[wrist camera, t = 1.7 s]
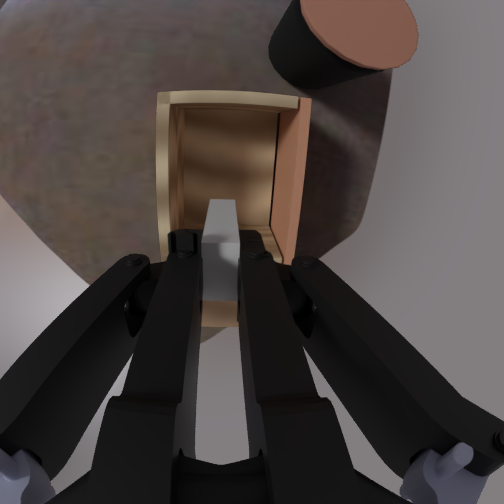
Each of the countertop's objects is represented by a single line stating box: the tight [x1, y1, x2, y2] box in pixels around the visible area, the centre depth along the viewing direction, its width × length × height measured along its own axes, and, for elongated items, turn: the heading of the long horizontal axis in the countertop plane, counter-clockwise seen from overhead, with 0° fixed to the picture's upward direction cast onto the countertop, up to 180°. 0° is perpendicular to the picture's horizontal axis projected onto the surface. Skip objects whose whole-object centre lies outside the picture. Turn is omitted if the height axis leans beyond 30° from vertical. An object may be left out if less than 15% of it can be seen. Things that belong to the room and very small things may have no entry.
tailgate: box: [271, 97, 311, 265], centre depth 31 cm, size 18×1×10 cm, turn 176°
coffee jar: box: [268, 0, 418, 89], centre depth 21 cm, size 11×11×18 cm
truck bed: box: [156, 90, 298, 327], centre depth 30 cm, size 24×13×14 cm, turn 176°
